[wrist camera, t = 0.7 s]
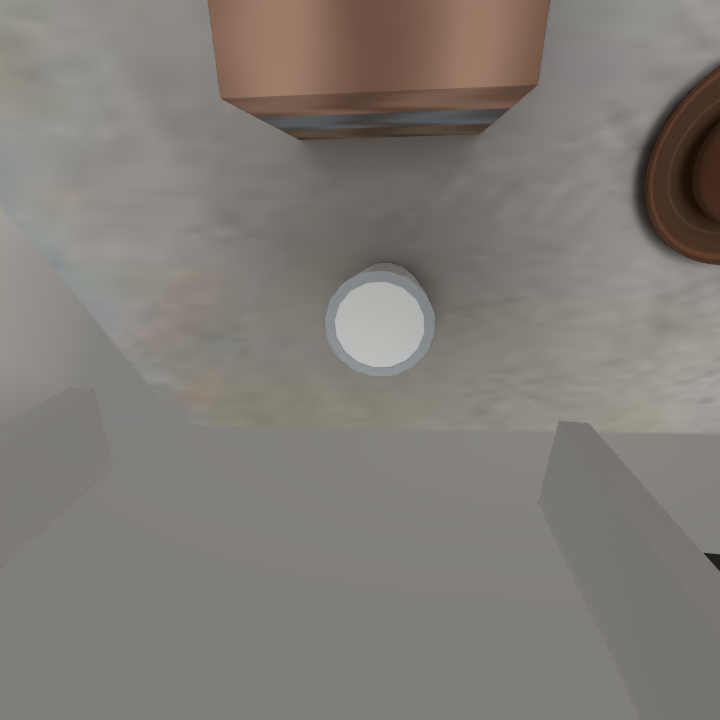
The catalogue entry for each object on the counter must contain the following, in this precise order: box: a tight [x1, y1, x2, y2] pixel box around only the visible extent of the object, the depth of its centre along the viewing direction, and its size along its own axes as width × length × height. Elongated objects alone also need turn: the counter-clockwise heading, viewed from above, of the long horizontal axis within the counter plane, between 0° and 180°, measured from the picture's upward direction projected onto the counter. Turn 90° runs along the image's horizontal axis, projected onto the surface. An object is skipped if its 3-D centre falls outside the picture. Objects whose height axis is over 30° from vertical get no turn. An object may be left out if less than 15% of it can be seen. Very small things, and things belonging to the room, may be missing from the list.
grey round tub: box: [324, 263, 435, 376], centre depth 27 cm, size 7×7×7 cm
